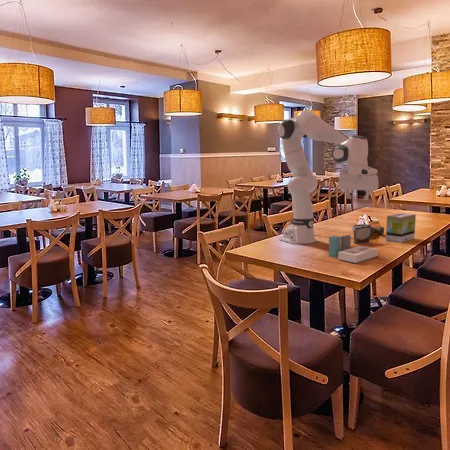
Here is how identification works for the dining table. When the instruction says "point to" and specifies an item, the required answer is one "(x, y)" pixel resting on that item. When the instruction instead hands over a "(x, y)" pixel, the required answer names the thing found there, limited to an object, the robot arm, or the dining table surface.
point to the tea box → (400, 227)
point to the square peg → (334, 245)
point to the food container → (361, 233)
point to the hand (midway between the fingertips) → (357, 199)
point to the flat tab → (345, 242)
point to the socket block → (357, 254)
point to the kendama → (376, 231)
